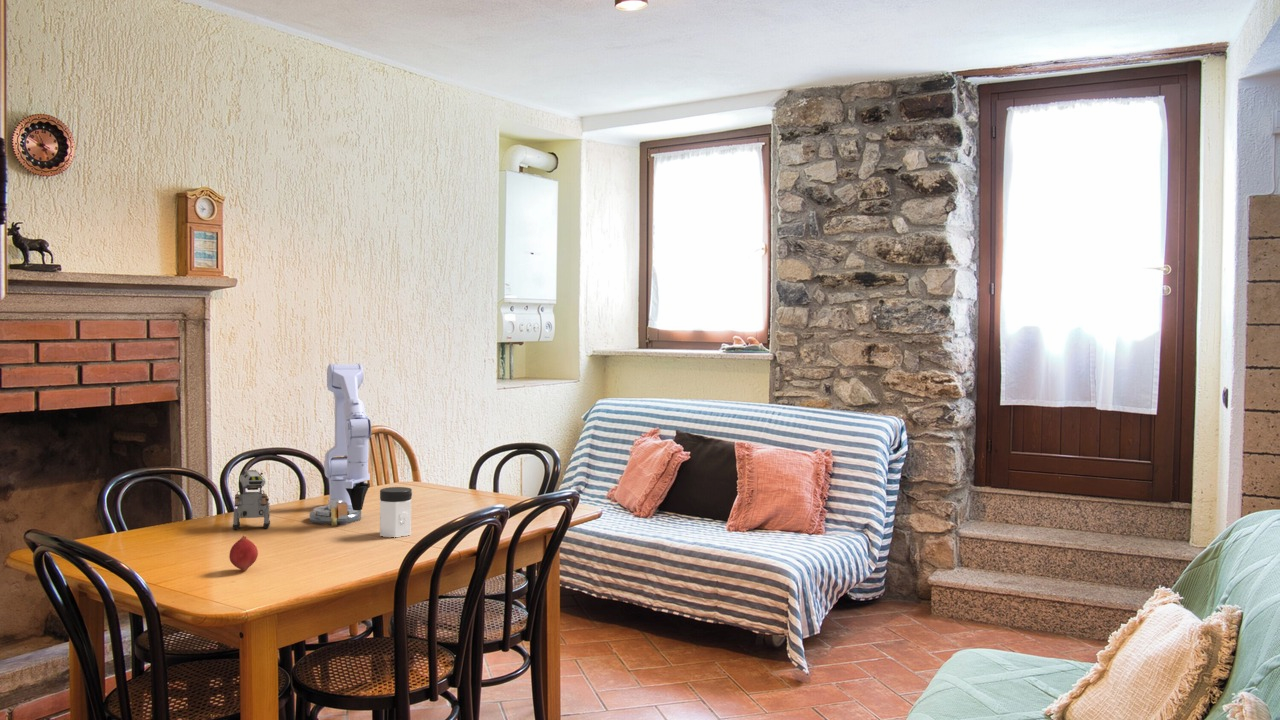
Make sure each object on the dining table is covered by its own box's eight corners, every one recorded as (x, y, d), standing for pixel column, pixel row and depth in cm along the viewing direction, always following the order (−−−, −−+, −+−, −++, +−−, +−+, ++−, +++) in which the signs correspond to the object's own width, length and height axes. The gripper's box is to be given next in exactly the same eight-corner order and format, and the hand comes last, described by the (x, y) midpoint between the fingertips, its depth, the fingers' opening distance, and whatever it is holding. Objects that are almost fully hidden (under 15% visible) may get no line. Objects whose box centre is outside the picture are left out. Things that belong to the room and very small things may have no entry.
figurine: (272, 521, 255) (273, 468, 255) (267, 530, 244) (267, 474, 244) (237, 522, 253) (237, 469, 253) (230, 531, 242) (230, 475, 242)
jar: (387, 539, 236) (388, 493, 236) (372, 534, 242) (373, 489, 242) (418, 534, 242) (419, 489, 242) (403, 529, 248) (403, 485, 248)
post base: (320, 514, 266) (320, 495, 266) (367, 515, 266) (367, 496, 266) (301, 524, 252) (301, 504, 252) (351, 525, 252) (352, 505, 252)
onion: (224, 573, 201) (224, 537, 200) (237, 567, 206) (237, 532, 206) (250, 574, 200) (250, 538, 200) (262, 567, 206) (262, 532, 206)
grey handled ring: (310, 509, 262) (310, 495, 261) (352, 506, 267) (352, 493, 267) (320, 520, 247) (320, 505, 247) (364, 517, 253) (364, 502, 253)
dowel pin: (332, 525, 252) (332, 507, 251) (337, 525, 252) (338, 507, 251) (330, 526, 250) (330, 508, 250) (335, 526, 250) (336, 508, 250)
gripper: (352, 457, 262) (352, 504, 262) (333, 464, 247) (333, 514, 248) (377, 458, 261) (376, 505, 262) (359, 465, 247) (359, 515, 247)
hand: (357, 509), depth 255 cm, fingers closed
